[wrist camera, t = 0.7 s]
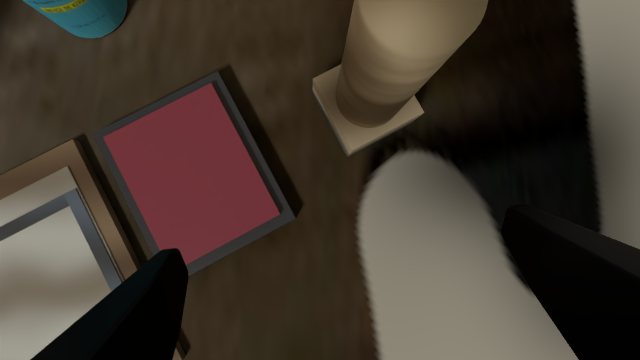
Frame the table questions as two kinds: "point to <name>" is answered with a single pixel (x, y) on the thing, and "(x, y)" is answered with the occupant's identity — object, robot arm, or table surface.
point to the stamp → (390, 64)
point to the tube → (83, 15)
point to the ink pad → (194, 174)
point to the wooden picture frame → (56, 249)
